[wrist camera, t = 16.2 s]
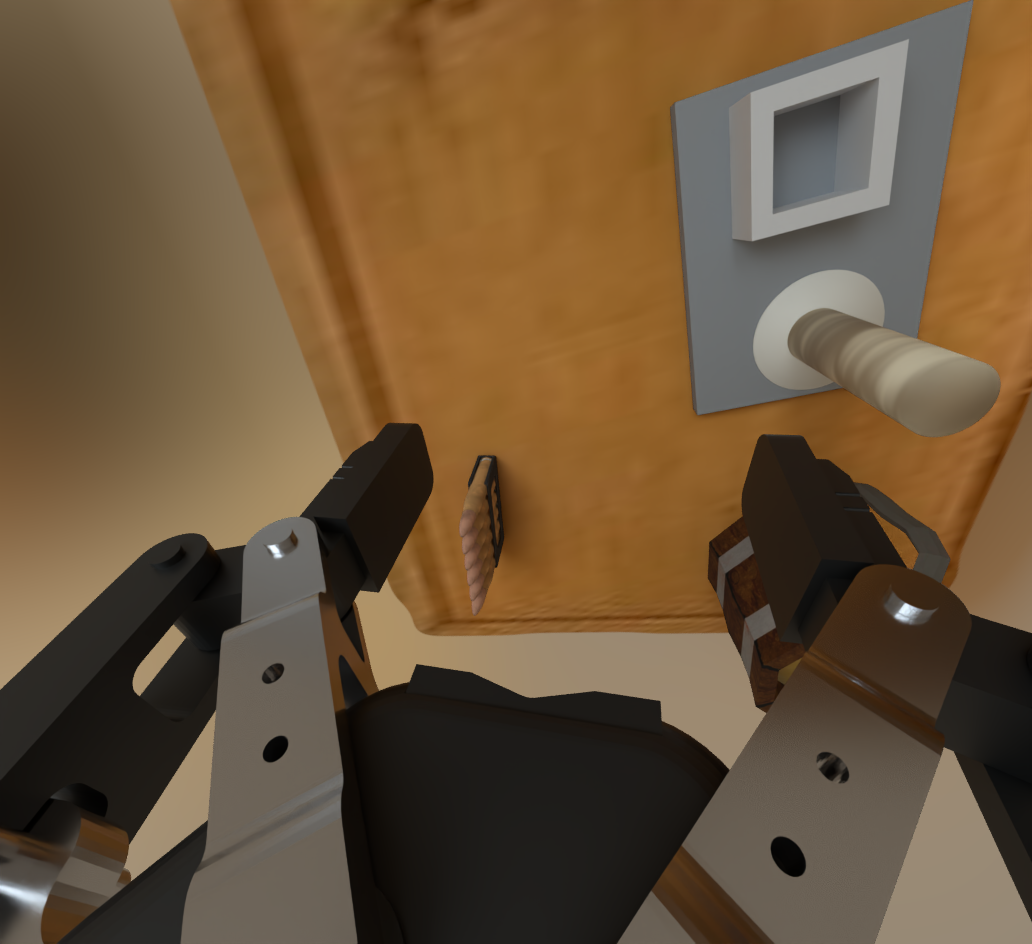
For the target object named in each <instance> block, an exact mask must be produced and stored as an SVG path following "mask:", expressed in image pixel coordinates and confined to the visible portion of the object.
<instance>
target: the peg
mask: <svg viewBox="0 0 1032 944" xmlns="http://www.w3.org/2000/svg"><path fill="white" fill-rule="evenodd" d="M787 344H788V349H789V351H790V353H791V354H792V355H793V356H794V357H795V358H797V359H798V360H800V361H802V362H803V363H805V364H806V365H808V366H810V367H811V368H813V369H814V370H816V371H818V372H819V373H821V374H822V375H824V376H825V377H827V378H829V379H830V380H832V381H833V382H835V383H837V384H838V385H840V386H841V387H843V388H845V389H846V390H848V391H849V392H851V393H852V394H854V395H856V396H857V397H859V398H860V399H862V400H864V401H865V402H867V403H868V404H870V405H871V406H873V407H875V408H876V409H878V410H879V411H881V412H883V413H884V414H886V415H887V416H889V417H891V418H892V419H894V420H895V421H897V422H898V423H900V424H902V425H903V426H905V427H906V428H908V429H910V430H911V431H913V432H914V433H916V434H919V435H921V436H926V437H942V436H947V435H951V434H954V433H957V432H960V431H962V430H964V429H966V428H968V427H970V426H971V425H973V424H974V423H976V422H977V421H979V420H980V419H981V418H982V417H983V416H984V415H985V414H986V413H987V412H988V411H989V410H990V409H991V408H992V406H993V405H994V403H995V401H996V399H997V397H998V395H999V392H1000V378H999V375H998V373H997V372H996V370H995V369H994V368H993V367H992V366H990V365H988V364H986V363H984V362H981V361H978V360H975V359H972V358H970V357H967V356H964V355H961V354H958V353H955V352H953V351H950V350H947V349H944V348H941V347H938V346H936V345H933V344H930V343H927V342H924V341H921V340H919V339H916V338H913V337H910V336H907V335H904V334H902V333H899V332H896V331H893V330H890V329H887V328H884V327H882V326H879V325H876V324H873V323H870V322H867V321H865V320H862V319H859V318H856V317H853V316H850V315H848V314H845V313H842V312H839V311H836V310H833V309H830V308H819V309H815V310H812V311H810V312H808V313H806V314H804V315H803V316H802V317H800V318H799V319H798V320H797V321H796V322H795V324H794V325H793V326H792V328H791V330H790V332H789V335H788V340H787Z"/></svg>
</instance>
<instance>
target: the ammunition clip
mask: <svg viewBox="0 0 1032 944" xmlns="http://www.w3.org/2000/svg"><path fill="white" fill-rule="evenodd" d="M468 487H469V491H468V493H467V496H466V499H465V502H464V509H463V513H462V517H461V520H460V525H459V532H460V536H461V537H463V540H462V550H463V553H464V554H465V568H466V570H467V581H468V585H469V586H470V599H471V601H472V612H473V615H474V616H475V615H477V614H478V612H479V611H480V609H481V607H482V605H483V603H484V600H485V597H486V594H487V591H488V588H489V586H490V584H491V581H492V577H493V573H494V569H495V568H497V566H498V562H499V557H500V553H501V549H502V545H503V541H504V531H503V521H502V511H501V501H500V491H499V482H498V472H497V462H496V456H478V458H477V461H476V463H475V466H474V469H473V471H472V474H471V477H470V479H469V482H468Z"/></svg>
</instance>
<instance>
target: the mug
mask: <svg viewBox="0 0 1032 944" xmlns="http://www.w3.org/2000/svg"><path fill="white" fill-rule="evenodd" d="M853 483H854V482H853ZM854 484H855V486H856V487H857V489H858V491H859V492H860V497H863V498H864V500H865V502H866V503H867V504H868V505H869V506H870V507H871V508H872V509H873V510H874V511H875V512H876V513H877V514H879V515H880V516H881V517H882V518H883V519H885V520H886V521H888V522H889V523H891V524H892V525H894V526H895V527H897V528H898V529H900V530H901V531H903V532H905V533H906V535H907V536H908V538H909V539H910V541H911V542H912V544H913V545H914V547H915V548H916V550H917V551H918V553H919V555H918V557H917V560H916V563H915V565H914V568H913V570H915V571H917V572H920V573H922V574H925V575H927V576H929V577H931V578H933V579H934V580H936V581H938V582H939V583H941V582H942V579H943V577H944V574H945V572H946V569H947V567H948V564H949V562H950V557H949V556H948V554H947V552H946V550H945V548H944V547H943V545H942V543H941V541H940V539H939V538H938V536H937V534H936V532H935V531H933V530H932V529H930V528H929V527H927V526H926V525H924V524H923V523H921V522H920V521H918V520H916V519H915V518H913V517H912V516H910V515H909V514H908V513H906V512H905V511H904V510H903V509H902V508H901V507H899V506H898V505H897V504H896V503H895V502H894V501H892V500H891V499H890V498H889V497H887V496H886V495H884V494H883V493H882V492H880V491H879V490H878V489H876V488H874V487H872V486H870V485H868V484H862V483H854ZM708 579H709V581H710V583H711V584H712V586H713V588H714V590H715V591H716V593H717V596H718V598H719V601H720V604H721V606H722V609H723V612H724V616H725V620H726V624H727V628H728V631H729V634H730V636H731V638H732V640H733V642H734V644H735V645H736V648H737V650H738V652H739V654H740V656H741V658H742V661H743V663H744V666H745V669H746V671H747V673H748V676H749V679H750V684H751V688H752V692H753V696H754V701H755V705H756V707H757V708H759V709H761V710H762V711H764V712H766V713H767V712H768V710H769V709H770V707H771V706H772V704H773V702H774V701H775V699H776V698H777V696H778V695H779V693H780V692H781V690H782V688H783V687H784V685H785V684H786V682H787V681H788V679H789V678H790V676H791V674H792V673H793V671H794V670H795V668H796V667H797V665H798V664H799V662H800V661H801V659H802V657H803V656H804V654H805V653H806V651H805V648H804V646H803V644H799V643H791V642H782V641H780V639H779V636H778V632H777V629H776V626H775V622H774V619H773V616H772V612H771V609H770V605H769V602H768V599H767V595H766V592H765V589H764V585H763V582H762V578H761V575H760V572H759V568H758V565H757V562H756V558H755V555H754V551H753V548H752V545H751V541H750V538H749V535H748V531H747V528H746V524H745V521H744V518H743V516H742V517H741V518H740V519H738V520H737V521H736V522H735V523H733V524H732V525H731V526H729V527H728V528H727V529H726V530H724V531H723V532H722V533H720V534H719V535H718V536H717V537H715V538H714V539H713V540H711V541H710V542H709V565H708Z"/></svg>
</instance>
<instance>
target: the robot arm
mask: <svg viewBox="0 0 1032 944" xmlns="http://www.w3.org/2000/svg"><path fill="white" fill-rule="evenodd" d="M432 488H433V470H432V466H431V463H430V459H429V455H428V451H427V447H426V443H425V440H424V436H423V432H422V429H421V427H420V426H419V425H418V424H412V423H388V424H386V425H385V427H384V428H383V429H382V430H381V432H380V433H379V434H378V435H377V437H376V438H375V439H374V440H373V441H369V442H367V443H366V444H364V445H363V446H361V447H360V448H358V449H357V450H355V451H354V452H353V453H352V454H351V455H350V456H349V457H348V459H347V460H346V461H345V462H344V463H343V465H342V468H339V470H338V471H337V472H336V473H335V475H334V476H333V479H330V480H329V482H328V483H327V484H326V485H325V486H324V488H323V489H322V490H321V491H320V492H319V494H318V495H317V496H316V497H315V498H314V500H313V501H312V502H311V503H310V504H309V506H308V507H307V508H306V509H305V511H304V512H303V513H302V514H301V515H300V517H290V518H286V519H282V520H278V521H276V522H273V523H272V524H269V525H267V526H266V527H264V528H263V529H261V530H260V531H259V532H257V533H256V534H255V535H254V536H253V537H252V538H251V539H250V540H249V541H248V543H247V545H243V546H237V547H231V548H225V549H220V550H214V549H213V547H212V546H211V545H210V543H209V542H208V541H207V539H206V538H205V537H204V536H202V535H200V534H194V533H189V534H182V535H178V536H175V537H172V538H169V539H167V540H164V541H162V542H161V543H158V544H157V545H155V546H153V547H152V548H150V549H149V550H147V551H146V552H145V553H144V554H143V555H141V556H140V557H139V558H138V559H137V560H136V561H135V562H134V563H133V564H132V565H131V566H130V567H129V568H128V569H127V570H125V571H124V572H123V573H122V574H121V575H120V576H119V577H118V578H117V579H116V580H115V581H114V582H113V583H112V584H111V585H110V586H109V587H108V588H107V589H105V590H104V591H103V593H101V594H100V595H99V596H98V597H97V598H96V599H95V600H94V601H93V602H92V603H91V604H90V605H89V606H88V607H87V608H86V609H85V610H83V612H82V613H80V614H79V615H78V616H77V617H76V618H75V619H74V620H73V621H72V622H71V623H70V624H69V625H68V626H67V627H66V628H65V629H64V630H63V631H61V632H60V633H59V634H58V635H57V636H56V637H55V638H54V639H53V640H52V641H51V642H50V643H49V644H48V645H47V646H46V647H45V648H44V649H43V650H42V651H41V652H39V653H38V654H37V655H36V656H35V657H34V658H33V659H32V660H31V661H30V662H29V663H28V664H27V665H26V666H25V667H24V668H23V669H22V670H21V671H20V672H19V673H17V675H15V677H13V678H12V679H11V680H10V681H9V682H8V683H7V684H6V685H5V686H4V687H3V688H2V689H1V690H0V944H874V943H875V941H876V938H877V935H878V933H879V930H880V927H881V924H882V921H883V919H884V916H885V913H886V910H887V907H888V904H889V901H890V898H891V896H892V893H893V890H894V888H895V885H896V882H897V879H898V876H899V873H900V871H901V868H902V865H903V862H904V859H905V856H906V854H907V851H908V848H909V845H910V842H911V840H912V837H913V834H914V831H915V828H916V825H917V823H918V819H919V817H920V814H921V811H922V809H923V806H924V803H925V800H926V797H927V794H928V792H929V789H930V786H931V783H932V780H933V777H934V774H935V772H936V769H937V766H938V763H939V761H940V758H941V755H942V752H943V748H944V747H945V748H947V749H950V750H952V751H954V753H955V755H956V757H957V760H958V762H959V764H960V766H961V769H962V770H963V773H964V775H965V777H966V779H967V782H968V784H969V786H970V788H971V790H972V793H973V795H974V797H975V799H976V801H977V803H978V806H979V808H980V810H981V812H982V814H983V816H984V819H985V821H986V823H987V825H988V827H989V830H990V832H991V834H992V836H993V838H994V840H995V842H996V845H997V847H998V849H999V851H1000V853H1001V856H1002V858H1003V860H1004V862H1005V864H1006V867H1007V869H1008V871H1009V873H1010V875H1011V877H1012V880H1013V882H1014V884H1015V886H1016V888H1017V890H1018V893H1019V895H1020V897H1021V899H1022V901H1023V903H1024V905H1025V908H1026V910H1027V912H1028V915H1029V917H1030V919H1031V921H1032V633H1029V632H1026V631H1023V630H1019V629H1016V628H1013V627H1010V626H1007V625H1003V624H1000V623H997V622H993V621H990V620H987V619H984V618H980V617H978V616H975V615H972V614H969V612H968V610H967V608H966V606H965V605H964V603H962V601H961V600H960V599H959V598H958V597H957V596H956V595H955V594H954V593H953V592H952V591H951V590H949V589H948V588H947V587H945V586H944V585H943V584H941V583H939V582H938V581H936V580H934V579H933V578H931V577H929V576H927V575H925V574H922V573H920V572H917V571H915V570H912V569H909V568H907V567H906V565H905V564H904V562H903V560H902V559H901V557H900V556H899V554H898V552H897V551H896V549H895V548H894V546H893V545H892V543H891V541H890V540H889V538H888V537H887V535H886V533H885V532H884V530H883V529H882V527H881V525H880V524H879V522H878V521H877V519H876V518H875V516H874V514H873V513H872V512H870V511H869V510H870V508H869V506H868V505H867V503H866V502H865V500H864V498H863V497H860V492H859V491H858V489H857V487H856V486H855V484H854V483H853V481H852V479H851V478H850V476H849V475H848V474H846V473H845V472H844V471H842V470H841V469H840V468H838V467H837V466H836V465H835V464H833V463H832V462H831V461H829V460H826V459H816V458H815V456H814V454H813V453H812V451H811V449H810V447H809V446H808V444H807V442H806V440H805V439H804V437H803V436H801V435H769V434H763V435H761V436H760V437H759V439H758V441H757V444H756V447H755V450H754V454H753V457H752V461H751V464H750V467H749V471H748V474H747V477H746V481H745V484H744V488H743V492H742V514H743V518H744V521H745V524H746V528H747V531H748V535H749V538H750V541H751V545H752V548H753V551H754V555H755V558H756V562H757V565H758V568H759V572H760V575H761V578H762V582H763V585H764V589H765V592H766V595H767V599H768V602H769V605H770V609H771V612H772V616H773V619H774V622H775V626H776V629H777V632H778V636H779V639H780V641H782V642H791V643H799V644H803V646H804V648H805V651H806V653H805V654H804V656H803V657H802V659H801V661H800V662H799V664H798V665H797V667H796V668H795V670H794V671H793V673H792V674H791V676H790V678H789V679H788V681H787V682H786V684H785V685H784V687H783V688H782V690H781V692H780V693H779V695H778V696H777V698H776V699H775V701H774V702H773V704H772V706H771V707H770V709H769V710H768V712H767V713H766V715H765V717H764V718H763V720H762V721H761V723H760V724H759V726H758V727H757V729H756V730H755V732H754V733H753V735H752V737H751V738H750V740H749V741H748V743H747V744H746V746H745V748H744V749H743V751H742V752H741V754H740V755H739V757H738V758H737V760H736V762H735V763H734V765H733V766H732V768H731V769H730V770H729V769H728V768H727V767H726V766H725V765H724V763H723V762H722V761H721V760H720V759H718V758H717V757H716V756H715V755H714V754H713V753H712V752H710V751H709V750H708V749H707V748H706V747H705V746H703V745H702V744H701V743H699V742H698V741H696V740H695V739H694V738H692V737H691V736H689V735H688V734H686V733H684V732H683V731H681V730H679V729H678V728H676V727H674V726H672V725H670V724H667V723H665V722H663V721H662V720H661V704H660V701H656V700H650V699H643V698H637V697H629V696H623V695H617V694H609V693H603V692H597V691H592V692H583V693H576V694H575V693H574V694H566V695H556V696H547V697H538V698H528V697H524V696H522V695H519V694H517V693H515V692H513V691H511V690H509V689H506V688H504V687H502V686H500V685H497V684H495V683H493V682H491V681H489V680H486V679H484V678H482V677H480V676H478V675H476V674H473V673H471V672H464V671H458V670H451V669H444V668H438V667H432V666H424V665H418V664H416V667H415V670H414V672H413V675H412V677H411V680H410V682H408V683H403V684H400V685H395V686H391V687H388V688H386V689H383V690H380V691H379V689H378V687H377V685H376V682H375V679H374V676H373V673H372V669H371V665H370V661H369V656H368V652H367V648H366V643H365V639H364V635H363V630H362V626H361V621H360V617H359V612H358V608H357V605H356V603H355V602H354V600H355V598H356V596H357V594H358V593H359V591H360V590H361V591H370V592H379V591H380V589H381V588H382V586H383V584H384V582H385V580H386V578H387V576H388V574H389V572H390V571H391V569H392V567H393V565H394V563H395V561H396V559H397V557H398V555H399V553H400V551H401V550H402V548H403V546H404V544H405V542H406V540H407V538H408V536H409V534H410V532H411V531H412V529H413V527H414V525H415V523H416V521H417V519H418V517H419V515H420V513H421V512H422V510H423V508H424V506H425V504H426V502H427V500H428V498H429V496H430V494H431V492H432ZM173 624H174V625H175V626H176V627H177V628H178V629H179V630H180V631H181V632H182V633H183V634H184V635H185V636H186V639H185V640H184V641H183V642H182V644H181V645H180V646H179V647H178V649H177V650H176V651H175V653H174V654H173V655H172V656H171V658H170V659H169V660H168V661H167V663H166V664H165V665H164V666H163V668H162V669H161V670H160V671H159V673H158V674H157V675H156V677H155V678H154V679H153V680H152V682H151V683H150V684H149V685H148V687H147V688H146V689H145V691H144V692H143V693H142V694H141V695H140V696H138V695H137V694H136V693H135V692H134V690H133V684H132V682H133V677H134V673H135V671H136V669H137V667H138V666H139V665H140V663H141V662H142V661H143V660H144V658H145V657H146V656H147V655H148V654H149V652H150V651H151V650H152V649H153V648H154V647H155V645H156V644H157V643H158V642H159V641H160V639H161V638H162V637H163V636H164V634H165V633H166V632H167V631H168V630H169V629H170V627H171V626H172V625H173ZM215 710H216V719H215V732H214V746H213V759H212V773H211V787H210V800H209V814H208V820H207V821H206V822H205V823H204V824H202V825H201V826H200V827H199V828H197V829H196V830H195V831H194V832H192V833H191V834H190V835H189V836H187V837H186V838H185V839H184V840H182V841H181V842H180V843H179V844H177V845H176V846H175V847H174V848H173V849H171V850H170V851H169V852H167V853H166V854H165V855H164V856H162V857H161V858H160V859H159V860H157V861H156V862H155V863H154V864H152V865H151V866H150V867H149V868H148V869H146V870H145V871H144V872H142V873H141V874H140V875H139V876H137V877H136V878H135V879H134V880H132V881H131V875H130V872H129V870H127V869H125V868H124V865H125V863H126V859H127V855H128V849H129V844H130V843H131V841H132V840H133V838H134V837H135V835H136V833H137V832H138V830H139V829H140V827H141V826H142V824H143V823H144V821H145V819H146V818H147V816H148V814H149V813H150V811H151V810H152V809H153V807H154V805H155V804H156V802H157V801H158V799H159V798H160V796H161V795H162V793H163V791H164V790H165V788H166V787H167V785H168V784H169V782H170V781H171V779H172V777H173V776H174V774H175V773H176V771H177V769H178V768H179V766H180V765H181V763H182V762H183V760H184V759H185V757H186V756H187V754H188V752H189V751H190V749H191V748H192V746H193V745H194V743H195V742H196V740H197V738H198V737H199V735H200V734H201V732H202V731H203V729H204V728H205V726H206V724H207V723H208V721H209V720H210V718H211V717H212V715H213V713H214V712H215Z"/></svg>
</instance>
